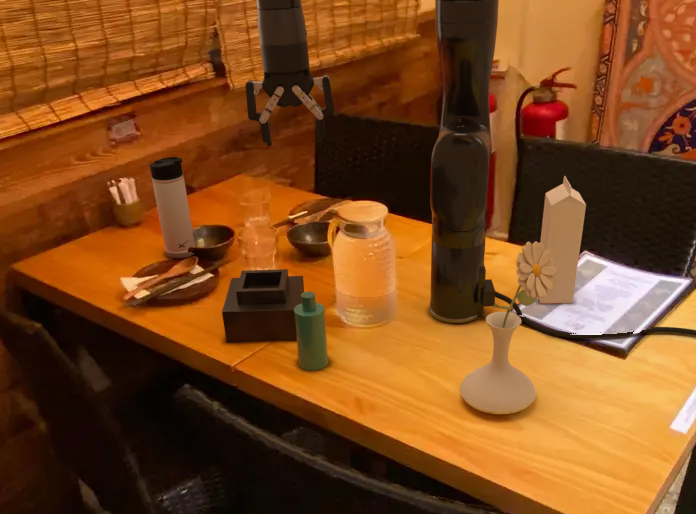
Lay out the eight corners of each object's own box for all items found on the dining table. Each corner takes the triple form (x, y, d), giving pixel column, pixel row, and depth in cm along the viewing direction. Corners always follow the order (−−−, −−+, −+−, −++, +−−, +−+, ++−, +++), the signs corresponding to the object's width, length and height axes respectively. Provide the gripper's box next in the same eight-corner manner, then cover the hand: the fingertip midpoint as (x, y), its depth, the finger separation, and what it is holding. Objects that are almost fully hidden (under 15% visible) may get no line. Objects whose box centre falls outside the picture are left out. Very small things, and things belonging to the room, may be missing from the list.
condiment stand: (305, 305, 145) (302, 262, 140) (301, 340, 135) (298, 296, 130) (235, 307, 145) (229, 265, 140) (226, 342, 134) (219, 298, 129)
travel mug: (190, 260, 163) (174, 164, 151) (161, 257, 164) (142, 163, 152) (202, 247, 168) (187, 154, 156) (173, 245, 169) (156, 153, 157)
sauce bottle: (328, 354, 130) (324, 287, 123) (327, 370, 126) (322, 301, 119) (299, 355, 130) (293, 288, 123) (298, 371, 126) (291, 302, 119)
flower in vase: (482, 429, 113) (494, 270, 98) (446, 389, 121) (452, 238, 107) (559, 407, 117) (580, 252, 102) (518, 370, 125) (533, 222, 111)
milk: (540, 304, 144) (552, 187, 131) (535, 289, 149) (546, 175, 136) (573, 303, 144) (588, 186, 131) (567, 288, 149) (581, 174, 136)
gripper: (235, 45, 121) (250, 151, 129) (327, 39, 121) (336, 146, 130) (241, 39, 127) (255, 141, 136) (328, 33, 127) (336, 135, 136)
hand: (294, 143), depth 133 cm, fingers open, 8 cm apart
